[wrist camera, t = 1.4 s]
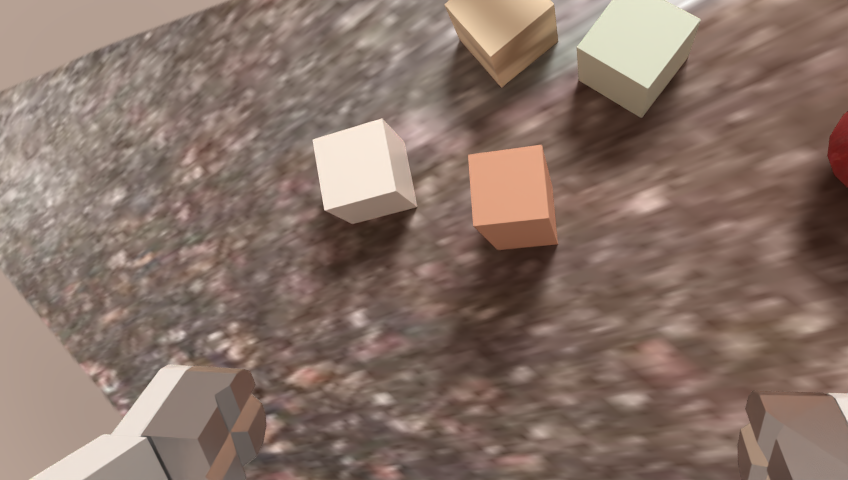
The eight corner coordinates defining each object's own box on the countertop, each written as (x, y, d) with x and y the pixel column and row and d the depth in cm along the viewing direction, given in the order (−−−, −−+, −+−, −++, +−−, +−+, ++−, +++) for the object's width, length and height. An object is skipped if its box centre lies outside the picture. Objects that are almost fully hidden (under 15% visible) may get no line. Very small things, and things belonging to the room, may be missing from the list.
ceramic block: (404, 142, 45) (382, 118, 40) (417, 207, 44) (396, 190, 39) (341, 160, 46) (312, 139, 41) (353, 224, 45) (324, 210, 40)
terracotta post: (552, 185, 41) (541, 144, 33) (557, 244, 40) (548, 217, 32) (493, 192, 42) (468, 154, 34) (497, 250, 41) (473, 226, 33)
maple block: (514, -5, 44) (504, -47, 39) (558, 41, 43) (554, 4, 38) (460, 40, 45) (444, 4, 40) (501, 88, 43) (490, 56, 39)
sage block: (623, 21, 42) (627, -20, 37) (687, 57, 40) (700, 19, 36) (578, 80, 42) (576, 47, 37) (641, 118, 40) (647, 88, 36)
